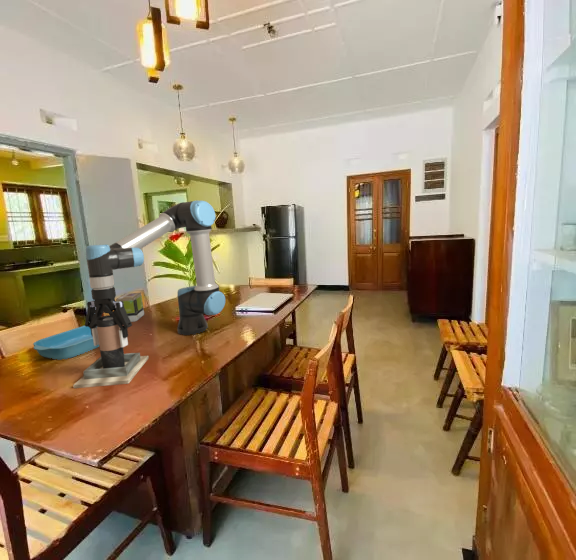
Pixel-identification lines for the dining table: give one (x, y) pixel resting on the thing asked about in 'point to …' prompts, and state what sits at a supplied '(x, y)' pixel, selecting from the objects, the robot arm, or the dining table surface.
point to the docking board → (111, 372)
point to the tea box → (132, 305)
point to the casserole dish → (66, 344)
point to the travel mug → (110, 342)
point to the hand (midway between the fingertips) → (111, 345)
